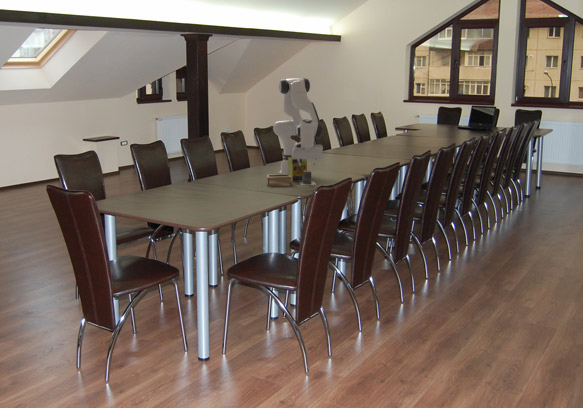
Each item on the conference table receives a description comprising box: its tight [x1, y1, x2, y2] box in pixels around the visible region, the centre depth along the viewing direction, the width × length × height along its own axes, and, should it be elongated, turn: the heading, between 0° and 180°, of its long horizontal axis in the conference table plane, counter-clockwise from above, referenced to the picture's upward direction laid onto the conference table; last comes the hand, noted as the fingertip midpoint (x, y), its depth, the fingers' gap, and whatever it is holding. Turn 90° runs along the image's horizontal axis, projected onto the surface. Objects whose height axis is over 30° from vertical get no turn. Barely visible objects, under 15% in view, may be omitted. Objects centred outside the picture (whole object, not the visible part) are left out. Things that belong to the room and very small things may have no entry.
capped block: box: [303, 170, 312, 184], centre depth 429 cm, size 6×4×8 cm
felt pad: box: [298, 181, 317, 187], centre depth 430 cm, size 12×10×1 cm
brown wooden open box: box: [266, 173, 292, 187], centre depth 428 cm, size 12×15×6 cm
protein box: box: [288, 157, 308, 182], centre depth 446 cm, size 10×15×16 cm
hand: (307, 165), depth 428 cm, fingers open, 8 cm apart
